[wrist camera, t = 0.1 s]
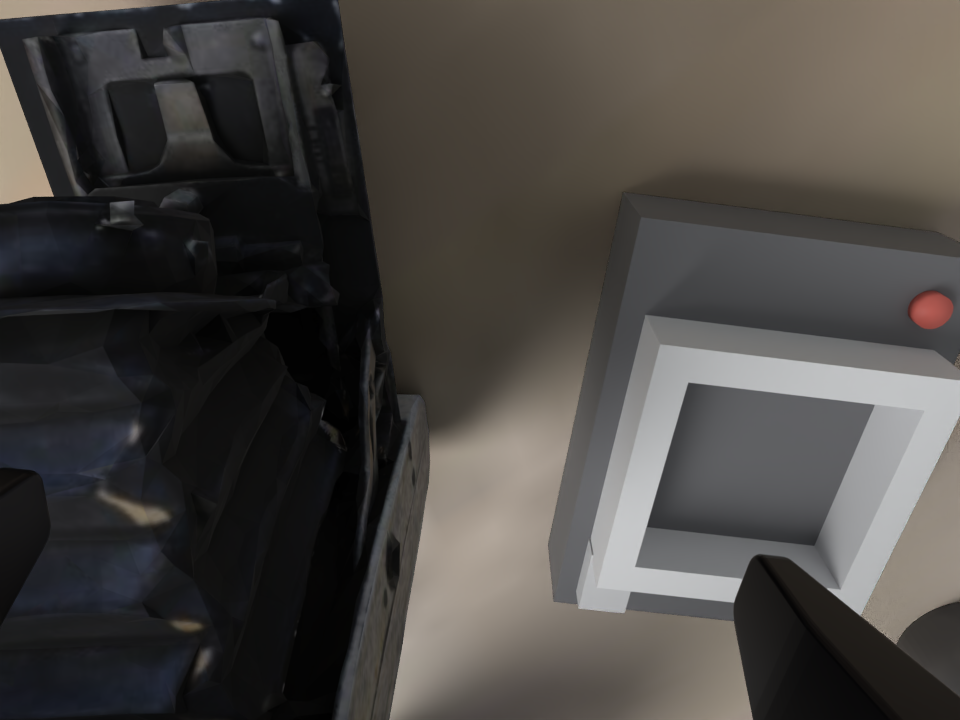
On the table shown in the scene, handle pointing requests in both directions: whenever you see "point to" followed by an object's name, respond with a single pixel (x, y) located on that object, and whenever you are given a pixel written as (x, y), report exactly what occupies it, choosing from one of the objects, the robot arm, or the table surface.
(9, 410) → the vintage camera
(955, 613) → the lens
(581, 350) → the table surface
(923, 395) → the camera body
